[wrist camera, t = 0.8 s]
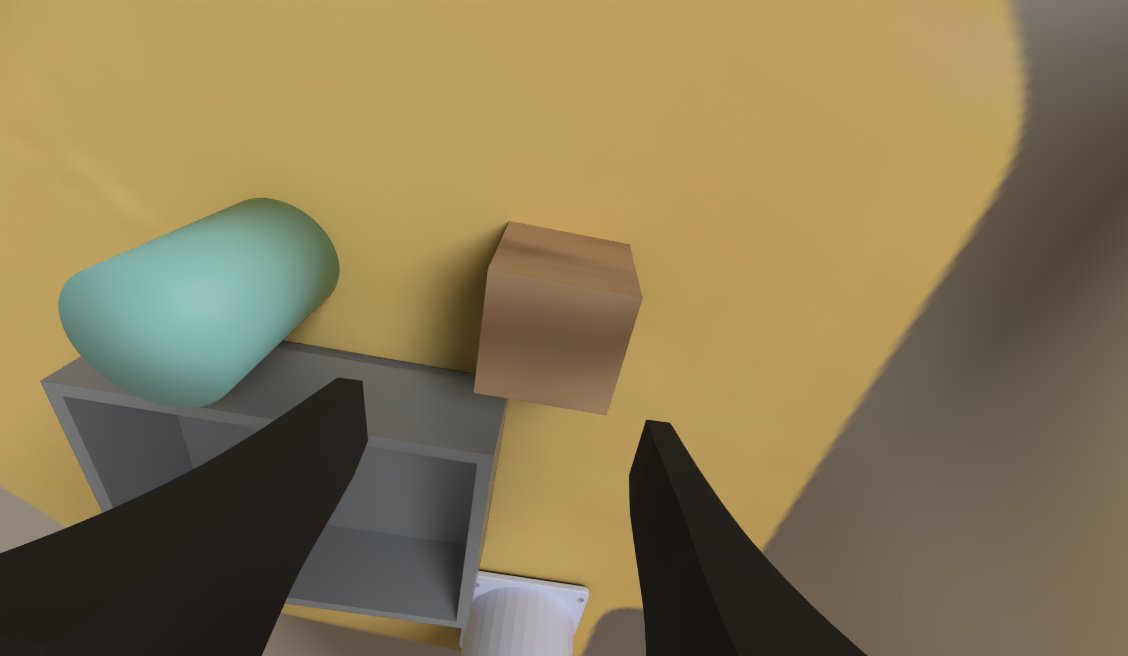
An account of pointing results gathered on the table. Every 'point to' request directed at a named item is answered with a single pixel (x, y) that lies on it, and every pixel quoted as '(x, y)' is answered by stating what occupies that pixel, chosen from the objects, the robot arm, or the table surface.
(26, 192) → the table surface
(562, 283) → the walnut cube
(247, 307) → the teal cylinder
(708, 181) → the table surface
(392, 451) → the tote
